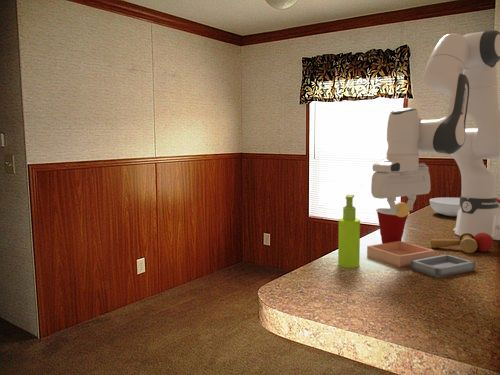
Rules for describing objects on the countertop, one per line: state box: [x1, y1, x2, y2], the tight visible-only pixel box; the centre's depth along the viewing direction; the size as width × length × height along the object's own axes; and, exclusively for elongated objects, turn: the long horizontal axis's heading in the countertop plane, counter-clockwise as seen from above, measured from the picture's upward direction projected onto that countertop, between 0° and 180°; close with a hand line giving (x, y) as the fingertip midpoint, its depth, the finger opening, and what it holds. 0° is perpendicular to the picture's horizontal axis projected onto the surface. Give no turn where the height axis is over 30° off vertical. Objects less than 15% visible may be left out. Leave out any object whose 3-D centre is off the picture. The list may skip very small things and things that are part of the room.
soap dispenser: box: [337, 194, 361, 269], centre depth 122 cm, size 6×7×20 cm
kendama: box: [430, 232, 495, 254], centre depth 137 cm, size 8×6×18 cm
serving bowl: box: [429, 197, 461, 218], centre depth 199 cm, size 21×21×7 cm
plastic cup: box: [375, 207, 411, 244], centre depth 144 cm, size 11×11×12 cm
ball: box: [395, 201, 410, 217], centre depth 127 cm, size 4×4×4 cm
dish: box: [366, 240, 436, 268], centre depth 128 cm, size 13×13×3 cm
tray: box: [410, 253, 476, 279], centre depth 117 cm, size 14×9×2 cm, turn 116°
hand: (401, 211), depth 127 cm, fingers closed on ball, 4 cm apart
